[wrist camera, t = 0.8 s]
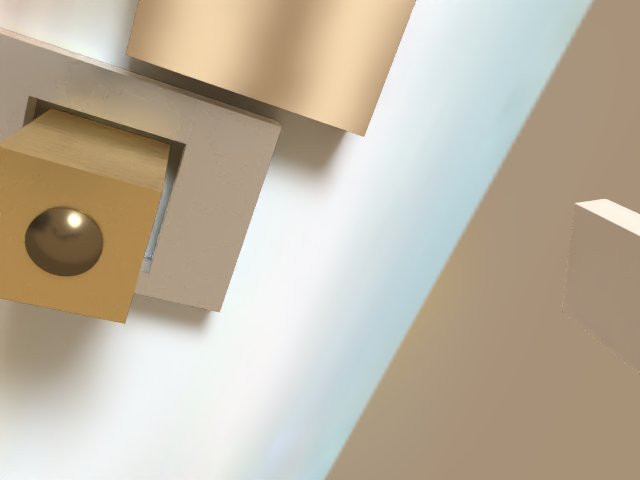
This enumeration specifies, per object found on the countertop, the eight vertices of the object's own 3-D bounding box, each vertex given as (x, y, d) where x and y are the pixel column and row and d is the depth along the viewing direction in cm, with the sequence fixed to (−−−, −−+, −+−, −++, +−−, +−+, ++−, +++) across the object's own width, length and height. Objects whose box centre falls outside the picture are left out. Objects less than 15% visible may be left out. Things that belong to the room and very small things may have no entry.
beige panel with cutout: (-226, 194, 28) (-257, 207, 26) (-207, -42, 25) (-240, -46, 23) (218, 296, 34) (219, 313, 33) (276, 120, 31) (282, 127, 29)
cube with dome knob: (28, 216, 31) (-35, 293, 22) (51, 108, 29) (-7, 147, 21) (142, 245, 32) (124, 325, 24) (170, 144, 31) (162, 193, 22)
